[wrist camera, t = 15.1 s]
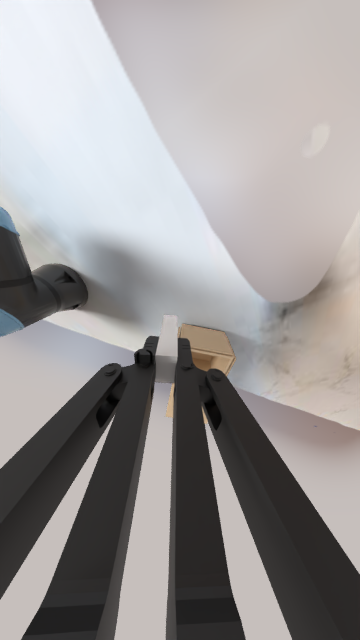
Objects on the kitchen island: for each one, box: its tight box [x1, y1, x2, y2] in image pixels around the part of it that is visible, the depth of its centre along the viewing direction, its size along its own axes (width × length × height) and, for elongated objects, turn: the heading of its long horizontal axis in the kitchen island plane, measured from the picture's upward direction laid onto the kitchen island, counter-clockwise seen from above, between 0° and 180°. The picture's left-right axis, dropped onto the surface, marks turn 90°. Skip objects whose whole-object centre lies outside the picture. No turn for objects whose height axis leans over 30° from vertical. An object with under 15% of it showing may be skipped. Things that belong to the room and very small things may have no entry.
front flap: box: [166, 383, 208, 424], centre depth 45 cm, size 15×1×12 cm
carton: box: [177, 324, 236, 377], centre depth 46 cm, size 18×17×13 cm
